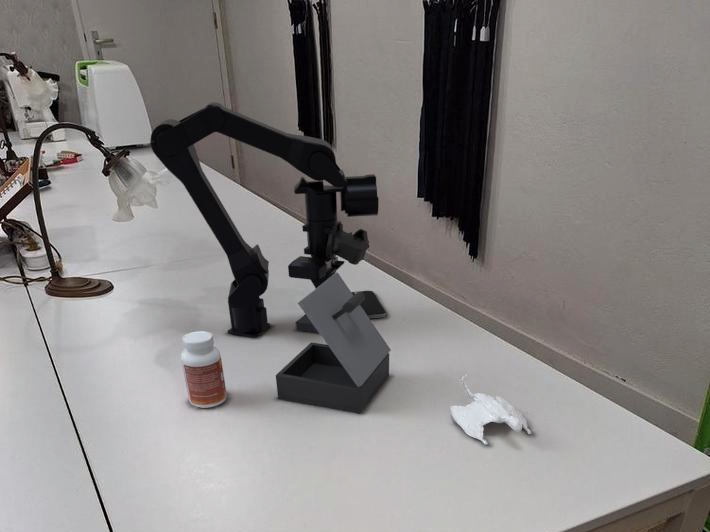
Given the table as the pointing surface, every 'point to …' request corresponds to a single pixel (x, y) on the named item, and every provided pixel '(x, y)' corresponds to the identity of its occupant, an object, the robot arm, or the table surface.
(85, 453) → the table surface
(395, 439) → the table surface
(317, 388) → the open square tray
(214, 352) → the pill bottle
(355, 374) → the box lid with handle
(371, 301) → the smartphone
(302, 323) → the switch block
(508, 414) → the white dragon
